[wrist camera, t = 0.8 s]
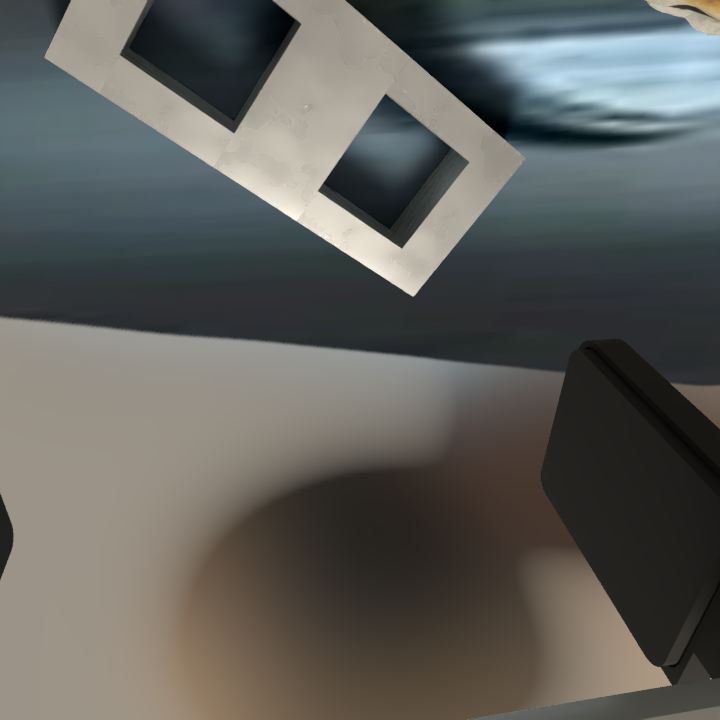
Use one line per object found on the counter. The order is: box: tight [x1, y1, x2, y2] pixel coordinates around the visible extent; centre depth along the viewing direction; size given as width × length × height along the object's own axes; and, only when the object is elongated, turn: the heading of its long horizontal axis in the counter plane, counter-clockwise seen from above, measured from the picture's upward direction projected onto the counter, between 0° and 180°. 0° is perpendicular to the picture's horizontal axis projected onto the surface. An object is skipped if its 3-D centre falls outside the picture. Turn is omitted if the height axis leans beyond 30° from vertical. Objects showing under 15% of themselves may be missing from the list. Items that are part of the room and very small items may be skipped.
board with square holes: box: [44, 0, 526, 297], centre depth 29 cm, size 20×9×3 cm, turn 53°
